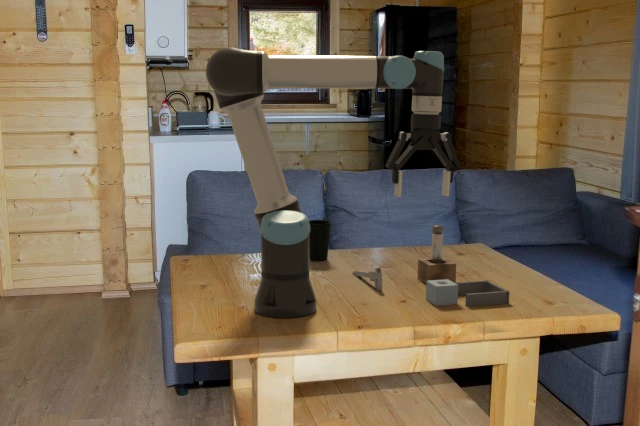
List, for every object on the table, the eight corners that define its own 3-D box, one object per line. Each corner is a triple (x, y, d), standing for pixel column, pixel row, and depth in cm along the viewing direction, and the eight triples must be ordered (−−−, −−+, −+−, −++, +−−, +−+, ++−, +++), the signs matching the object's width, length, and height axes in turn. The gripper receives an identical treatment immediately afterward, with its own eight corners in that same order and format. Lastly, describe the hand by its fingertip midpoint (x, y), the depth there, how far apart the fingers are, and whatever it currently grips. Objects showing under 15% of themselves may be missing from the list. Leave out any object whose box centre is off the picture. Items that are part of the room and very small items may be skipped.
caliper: (382, 292, 205) (382, 269, 204) (378, 292, 204) (379, 269, 203) (355, 274, 224) (355, 253, 223) (352, 274, 223) (352, 253, 222)
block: (435, 305, 191) (436, 286, 191) (425, 299, 197) (426, 280, 196) (457, 304, 193) (458, 284, 192) (447, 298, 199) (448, 278, 198)
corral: (466, 306, 191) (467, 294, 190) (447, 294, 202) (447, 283, 201) (508, 303, 194) (509, 291, 193) (487, 291, 205) (487, 280, 204)
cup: (335, 258, 242) (335, 221, 240) (322, 263, 235) (322, 225, 233) (314, 256, 246) (314, 219, 244) (301, 260, 239) (301, 222, 237)
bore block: (428, 286, 210) (429, 265, 209) (417, 279, 218) (418, 258, 217) (455, 284, 212) (456, 263, 211) (443, 277, 220) (444, 257, 219)
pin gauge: (433, 280, 213) (434, 227, 210) (429, 277, 216) (430, 225, 213) (443, 279, 214) (445, 226, 211) (439, 276, 217) (440, 224, 214)
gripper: (386, 112, 187) (382, 198, 191) (477, 114, 195) (471, 197, 199) (375, 111, 194) (371, 194, 198) (462, 113, 202) (457, 193, 206)
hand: (421, 196), depth 198 cm, fingers open, 13 cm apart
